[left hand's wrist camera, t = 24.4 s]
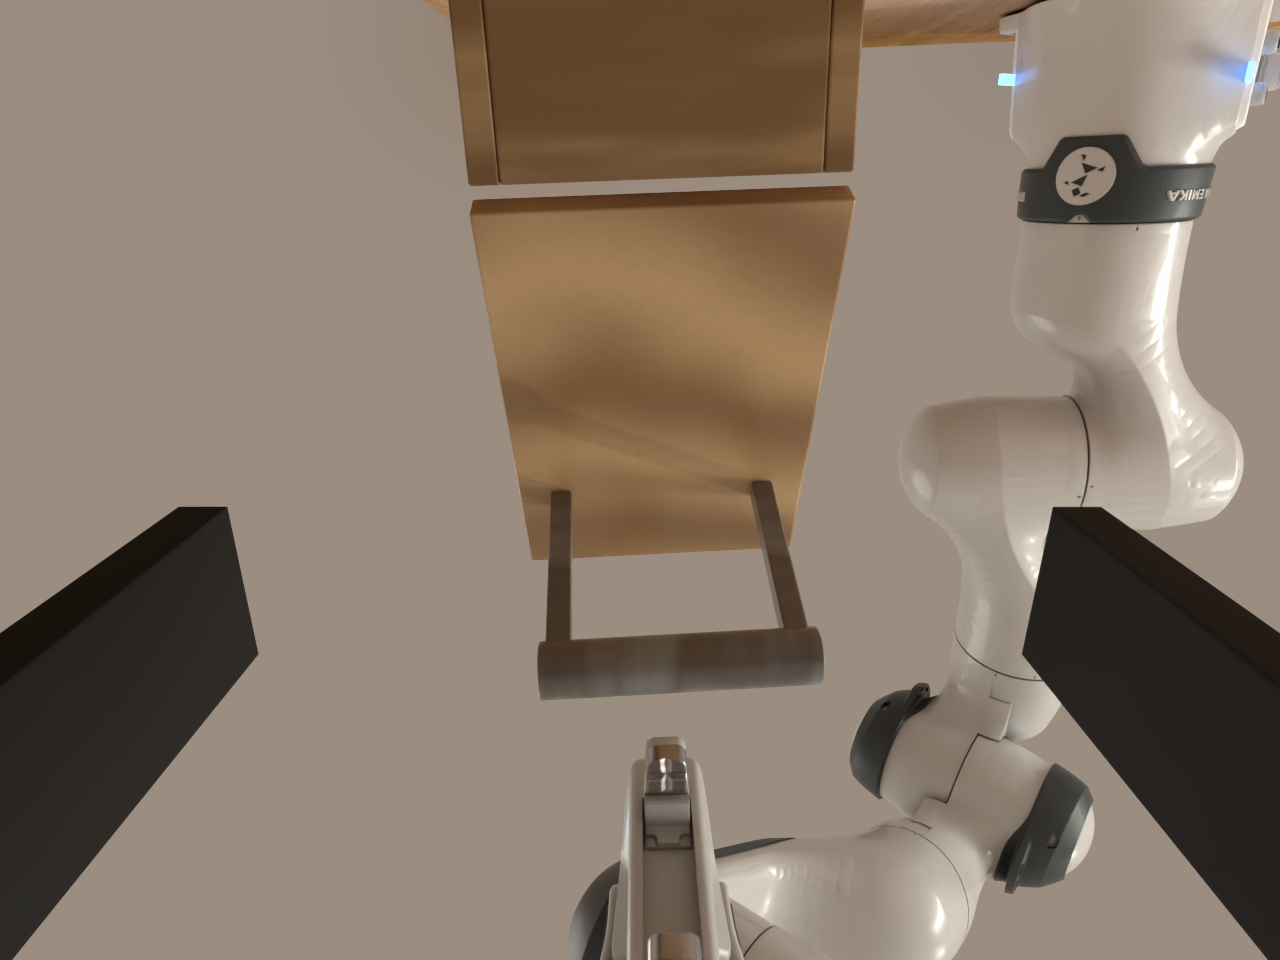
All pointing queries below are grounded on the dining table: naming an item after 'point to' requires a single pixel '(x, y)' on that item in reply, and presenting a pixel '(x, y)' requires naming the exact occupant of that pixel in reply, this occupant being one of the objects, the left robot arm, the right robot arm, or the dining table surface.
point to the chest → (655, 88)
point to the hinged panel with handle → (664, 404)
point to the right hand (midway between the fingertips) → (669, 834)
